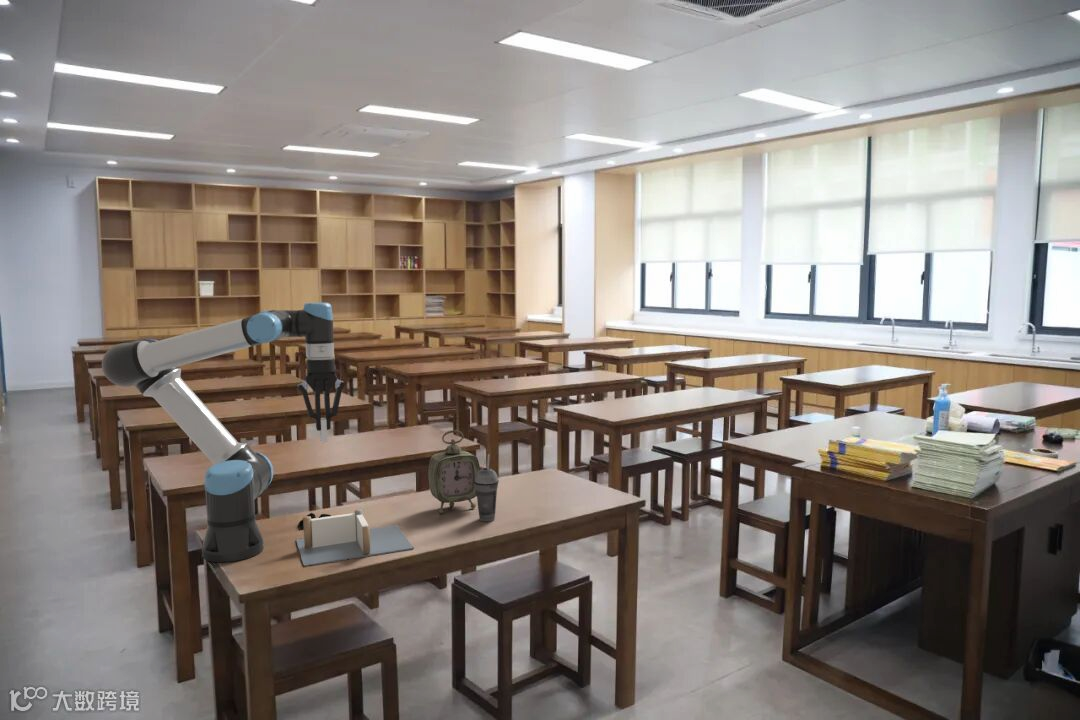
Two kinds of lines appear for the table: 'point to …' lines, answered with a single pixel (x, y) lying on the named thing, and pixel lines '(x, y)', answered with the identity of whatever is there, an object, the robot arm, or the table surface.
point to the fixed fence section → (330, 529)
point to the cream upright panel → (363, 533)
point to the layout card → (356, 547)
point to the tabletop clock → (453, 474)
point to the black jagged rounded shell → (301, 526)
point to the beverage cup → (486, 492)
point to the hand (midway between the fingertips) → (324, 441)
